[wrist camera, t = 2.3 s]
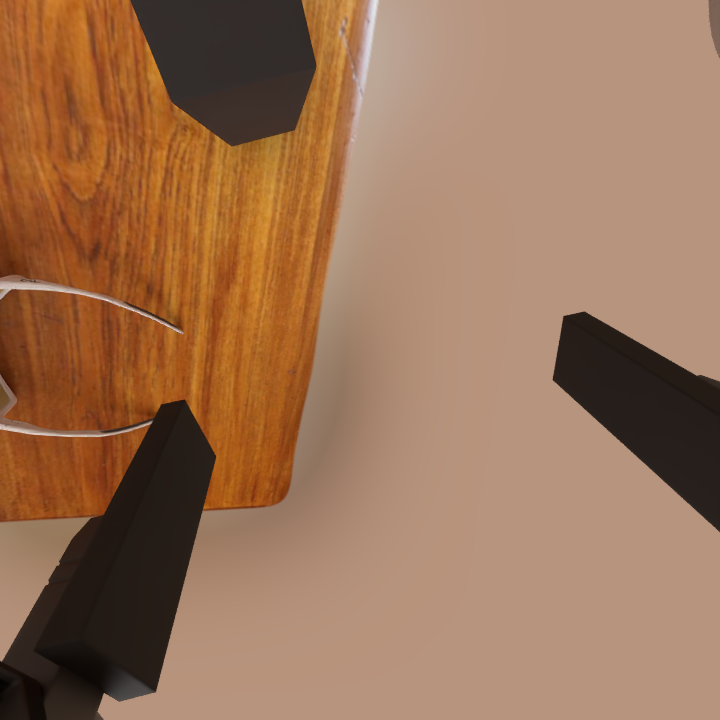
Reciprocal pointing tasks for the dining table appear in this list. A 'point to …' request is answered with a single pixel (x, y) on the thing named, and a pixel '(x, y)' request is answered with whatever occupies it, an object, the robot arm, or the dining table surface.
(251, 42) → the standing block
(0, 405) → the sunglasses
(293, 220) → the dining table surface
